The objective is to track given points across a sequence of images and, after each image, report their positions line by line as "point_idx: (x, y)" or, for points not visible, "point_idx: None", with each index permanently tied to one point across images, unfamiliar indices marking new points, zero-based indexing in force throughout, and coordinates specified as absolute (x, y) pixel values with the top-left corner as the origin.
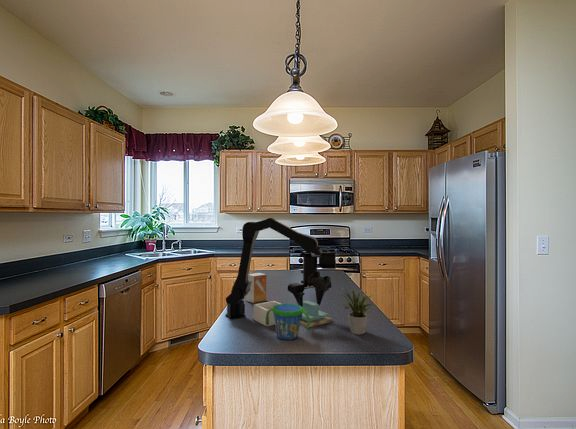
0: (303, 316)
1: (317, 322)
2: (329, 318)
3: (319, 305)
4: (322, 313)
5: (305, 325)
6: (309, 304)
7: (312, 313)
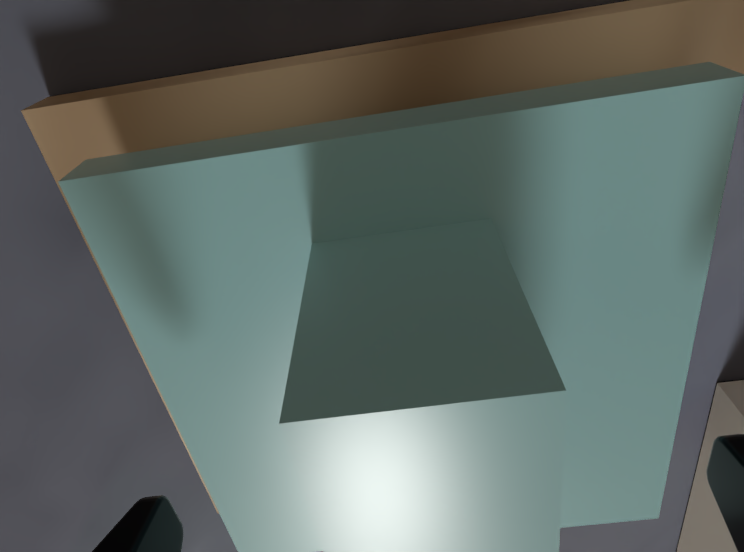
0: (705, 256)
1: (447, 38)
2: (77, 151)
3: (152, 497)
4: (192, 261)
5: (741, 37)
6: (560, 506)
7: (502, 251)
